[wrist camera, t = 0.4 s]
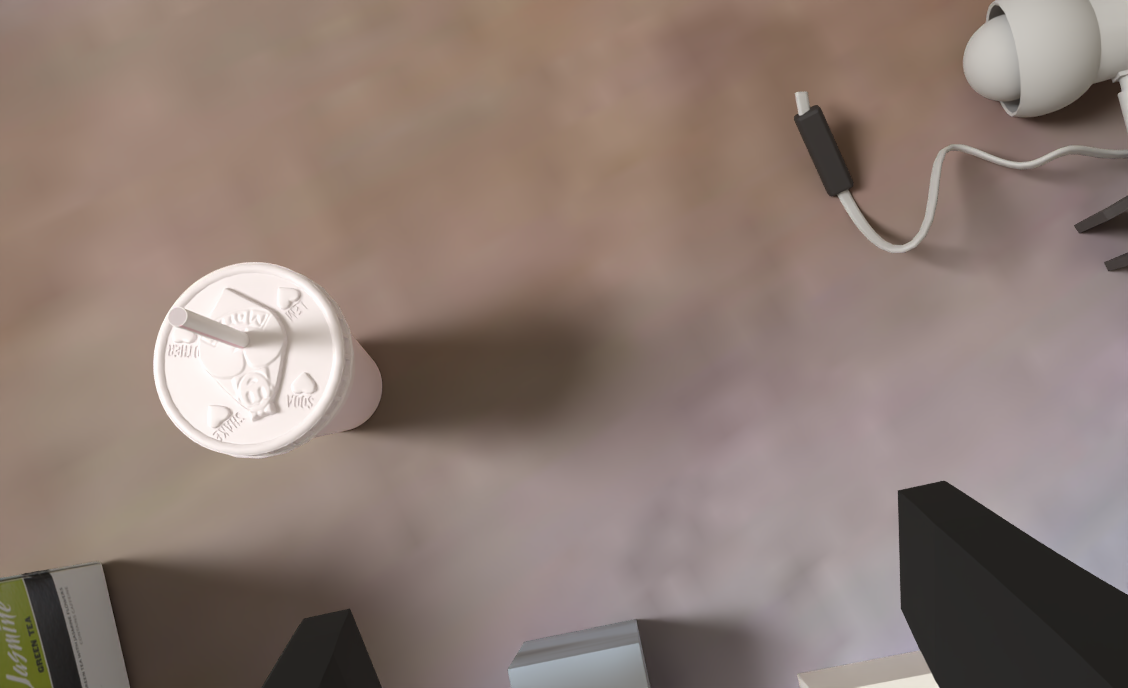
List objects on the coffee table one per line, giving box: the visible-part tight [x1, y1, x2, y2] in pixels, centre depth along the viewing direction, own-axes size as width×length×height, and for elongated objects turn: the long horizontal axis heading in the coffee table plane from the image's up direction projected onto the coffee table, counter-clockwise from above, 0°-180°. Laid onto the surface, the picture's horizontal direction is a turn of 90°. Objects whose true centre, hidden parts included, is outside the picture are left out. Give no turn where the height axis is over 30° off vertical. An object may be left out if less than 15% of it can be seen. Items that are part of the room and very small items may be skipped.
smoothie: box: [153, 262, 382, 459], centre depth 32 cm, size 6×6×14 cm
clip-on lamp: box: [794, 0, 1128, 271], centre depth 36 cm, size 12×6×18 cm
